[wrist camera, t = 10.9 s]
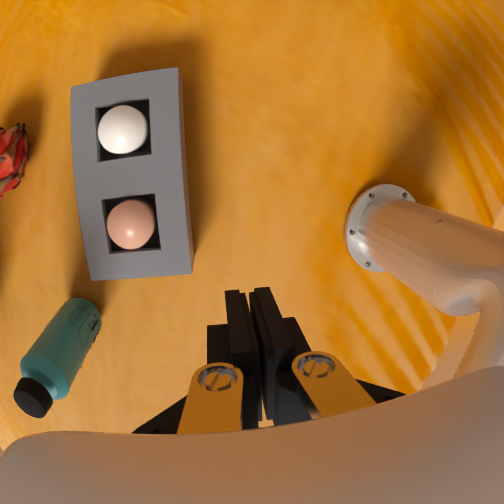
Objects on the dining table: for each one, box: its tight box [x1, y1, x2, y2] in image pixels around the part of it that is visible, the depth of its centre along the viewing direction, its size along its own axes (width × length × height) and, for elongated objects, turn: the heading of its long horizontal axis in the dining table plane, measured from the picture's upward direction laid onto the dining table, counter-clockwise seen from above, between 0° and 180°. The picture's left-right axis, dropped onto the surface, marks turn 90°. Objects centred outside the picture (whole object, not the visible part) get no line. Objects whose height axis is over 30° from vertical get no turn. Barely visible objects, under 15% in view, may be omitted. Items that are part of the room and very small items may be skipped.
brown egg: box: [107, 197, 158, 249], centre depth 32 cm, size 5×5×4 cm
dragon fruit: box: [0, 123, 31, 201], centre depth 28 cm, size 8×8×12 cm
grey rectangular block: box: [71, 67, 195, 281], centre depth 32 cm, size 12×22×6 cm, turn 2°
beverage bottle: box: [13, 298, 102, 418], centre depth 30 cm, size 6×7×20 cm
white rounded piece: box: [98, 105, 151, 154], centre depth 29 cm, size 5×5×4 cm
